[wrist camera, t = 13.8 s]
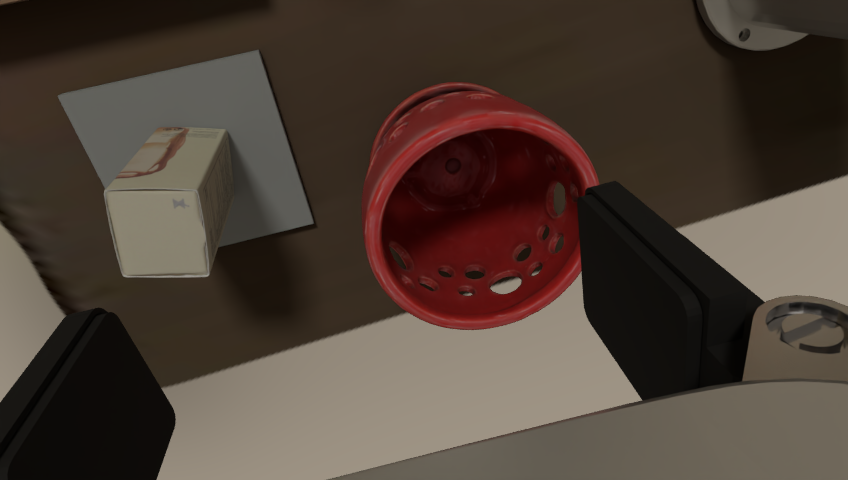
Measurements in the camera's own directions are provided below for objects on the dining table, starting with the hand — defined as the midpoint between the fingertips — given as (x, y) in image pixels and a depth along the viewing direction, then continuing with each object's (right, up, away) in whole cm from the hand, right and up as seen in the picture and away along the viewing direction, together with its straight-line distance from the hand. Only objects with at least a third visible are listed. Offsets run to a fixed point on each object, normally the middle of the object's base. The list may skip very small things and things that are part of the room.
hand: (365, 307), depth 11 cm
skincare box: (-14, +6, +25) cm, 29 cm away
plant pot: (+2, +7, +28) cm, 29 cm away
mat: (-14, +7, +25) cm, 29 cm away
